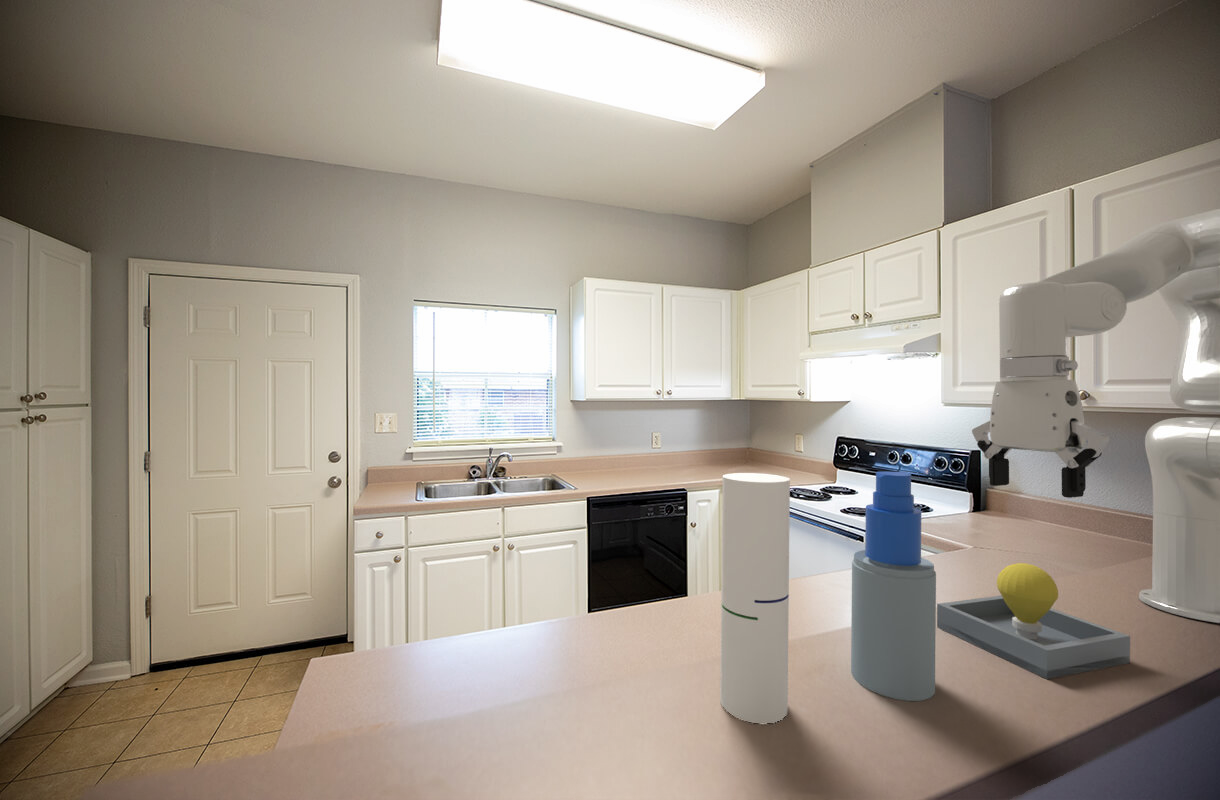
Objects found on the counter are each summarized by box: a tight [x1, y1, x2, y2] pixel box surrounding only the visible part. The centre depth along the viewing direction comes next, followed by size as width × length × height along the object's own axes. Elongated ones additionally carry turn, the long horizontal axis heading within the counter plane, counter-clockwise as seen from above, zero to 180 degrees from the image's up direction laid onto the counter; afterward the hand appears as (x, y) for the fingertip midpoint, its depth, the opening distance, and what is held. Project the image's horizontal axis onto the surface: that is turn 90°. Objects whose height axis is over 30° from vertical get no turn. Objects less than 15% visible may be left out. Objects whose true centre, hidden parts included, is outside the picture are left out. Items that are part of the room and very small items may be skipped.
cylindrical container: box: [719, 472, 791, 725], centre depth 57 cm, size 7×7×25 cm
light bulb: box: [996, 562, 1059, 640], centre depth 72 cm, size 7×7×10 cm
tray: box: [936, 594, 1131, 680], centre depth 72 cm, size 15×15×4 cm
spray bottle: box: [850, 471, 937, 702], centre depth 62 cm, size 9×9×25 cm
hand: (1033, 490), depth 74 cm, fingers open, 9 cm apart
